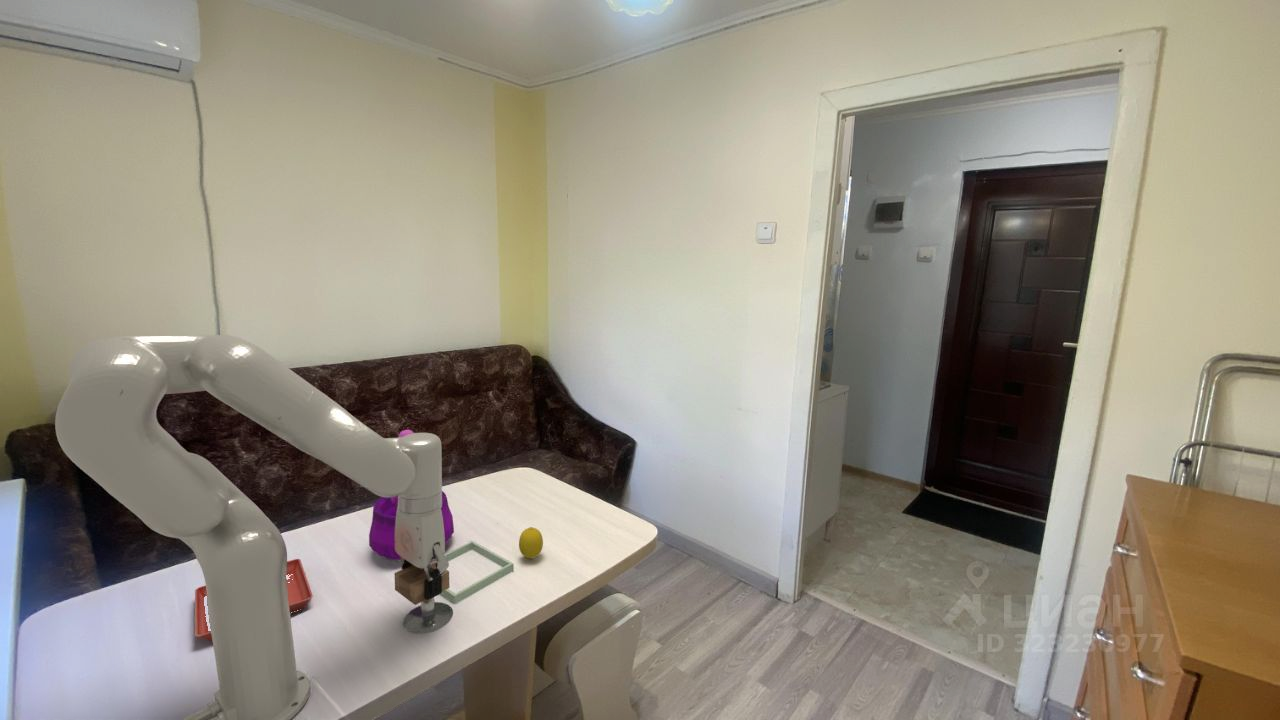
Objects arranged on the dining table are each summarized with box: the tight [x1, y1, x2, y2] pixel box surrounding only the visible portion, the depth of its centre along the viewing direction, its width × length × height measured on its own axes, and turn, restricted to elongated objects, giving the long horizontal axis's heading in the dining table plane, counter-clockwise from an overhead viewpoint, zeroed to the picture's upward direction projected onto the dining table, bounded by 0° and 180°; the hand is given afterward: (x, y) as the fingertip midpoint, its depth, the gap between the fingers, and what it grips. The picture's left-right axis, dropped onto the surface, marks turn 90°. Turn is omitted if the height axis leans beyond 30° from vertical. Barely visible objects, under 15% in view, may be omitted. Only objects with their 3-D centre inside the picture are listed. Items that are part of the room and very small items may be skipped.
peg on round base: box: [402, 597, 454, 635], centre depth 102 cm, size 9×9×5 cm
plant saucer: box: [194, 558, 314, 641], centre depth 105 cm, size 18×18×3 cm
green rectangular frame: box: [440, 540, 515, 605], centre depth 116 cm, size 15×15×2 cm
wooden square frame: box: [394, 559, 450, 606], centre depth 100 cm, size 7×7×4 cm
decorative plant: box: [368, 429, 455, 561], centre depth 124 cm, size 19×18×30 cm
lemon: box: [518, 526, 544, 560], centre depth 123 cm, size 6×6×8 cm
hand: (421, 587), depth 100 cm, fingers closed on wooden square frame, 7 cm apart
